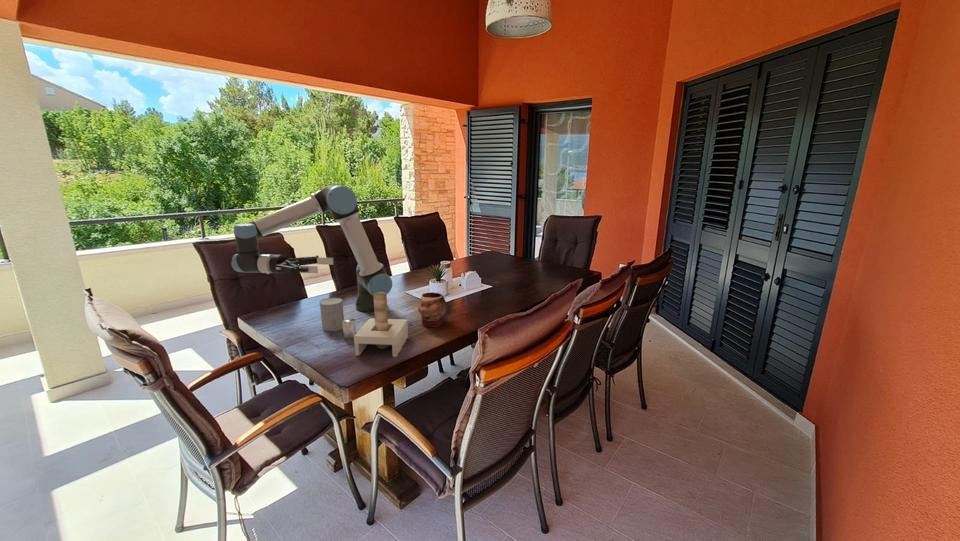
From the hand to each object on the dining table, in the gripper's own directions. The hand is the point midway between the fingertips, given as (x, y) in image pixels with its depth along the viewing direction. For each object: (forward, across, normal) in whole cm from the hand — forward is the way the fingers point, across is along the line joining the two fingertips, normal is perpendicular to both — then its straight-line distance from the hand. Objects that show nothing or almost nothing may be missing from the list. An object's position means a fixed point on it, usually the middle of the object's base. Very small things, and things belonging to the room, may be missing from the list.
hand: (325, 265), depth 151 cm
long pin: (+23, +4, -32) cm, 39 cm away
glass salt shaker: (+7, -2, -32) cm, 33 cm away
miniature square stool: (+23, +4, -32) cm, 39 cm away
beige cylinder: (-5, -13, -32) cm, 35 cm away
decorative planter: (+39, -22, -32) cm, 55 cm away
